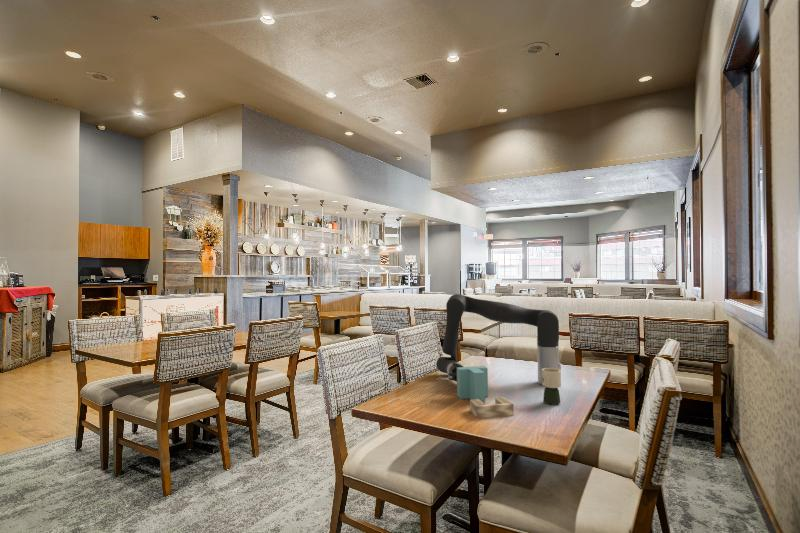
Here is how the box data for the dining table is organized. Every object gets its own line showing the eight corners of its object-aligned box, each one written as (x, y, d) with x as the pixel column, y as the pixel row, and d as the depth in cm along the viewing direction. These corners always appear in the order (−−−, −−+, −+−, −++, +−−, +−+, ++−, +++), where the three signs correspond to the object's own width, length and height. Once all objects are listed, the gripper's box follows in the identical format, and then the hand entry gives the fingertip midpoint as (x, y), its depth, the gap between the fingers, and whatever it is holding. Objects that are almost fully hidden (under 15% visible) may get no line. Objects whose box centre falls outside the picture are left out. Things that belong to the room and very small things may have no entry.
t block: (484, 394, 179) (483, 365, 179) (494, 402, 168) (493, 371, 169) (457, 396, 177) (456, 367, 177) (465, 404, 166) (465, 373, 167)
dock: (504, 407, 161) (503, 397, 161) (513, 415, 153) (513, 404, 153) (470, 410, 159) (469, 399, 159) (477, 418, 151) (477, 406, 151)
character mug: (546, 398, 172) (545, 366, 172) (564, 400, 168) (564, 368, 168) (538, 405, 163) (537, 371, 163) (557, 408, 159) (556, 373, 159)
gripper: (470, 379, 197) (483, 389, 180) (442, 380, 195) (453, 390, 178) (470, 362, 197) (483, 371, 180) (442, 364, 195) (453, 372, 178)
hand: (468, 380), depth 179 cm, fingers closed
